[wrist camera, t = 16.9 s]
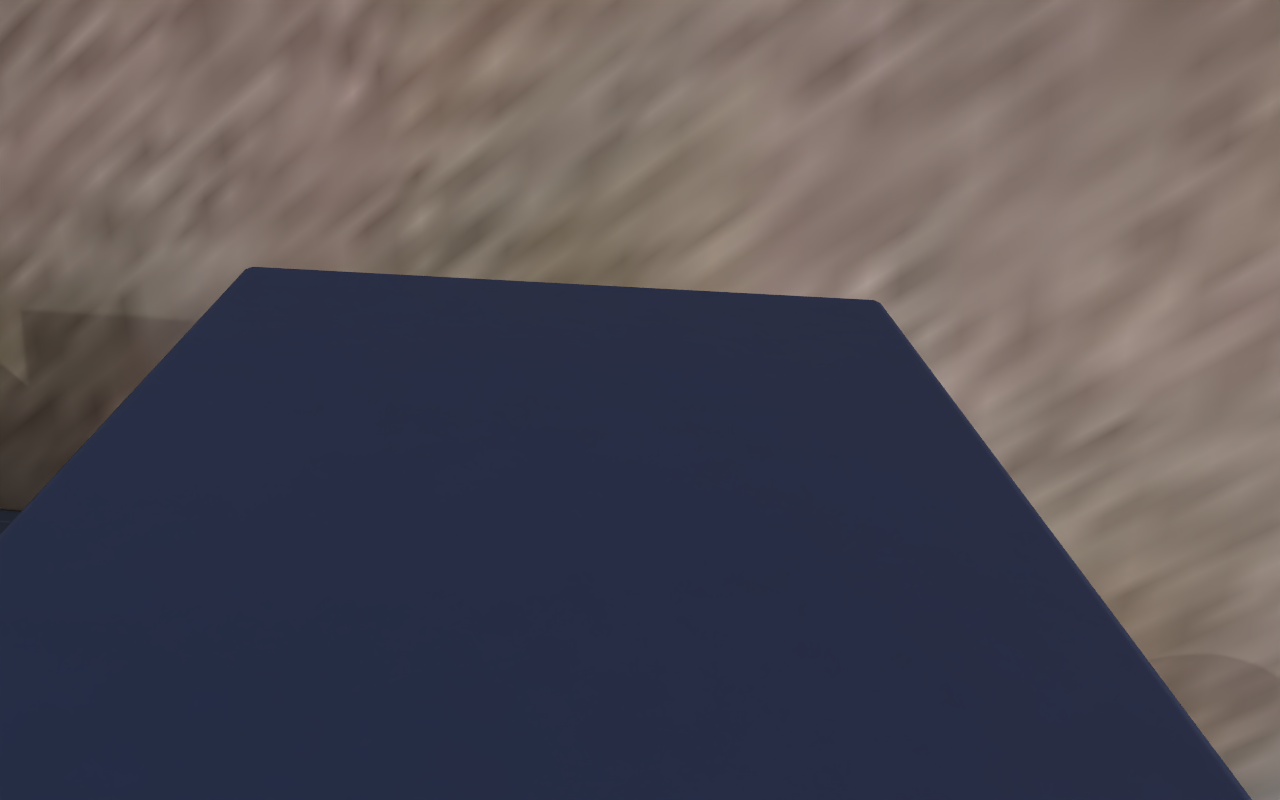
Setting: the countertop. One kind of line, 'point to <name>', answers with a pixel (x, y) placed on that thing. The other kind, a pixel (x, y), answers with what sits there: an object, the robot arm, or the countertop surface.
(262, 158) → the countertop surface
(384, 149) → the countertop surface
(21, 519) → the blue block
